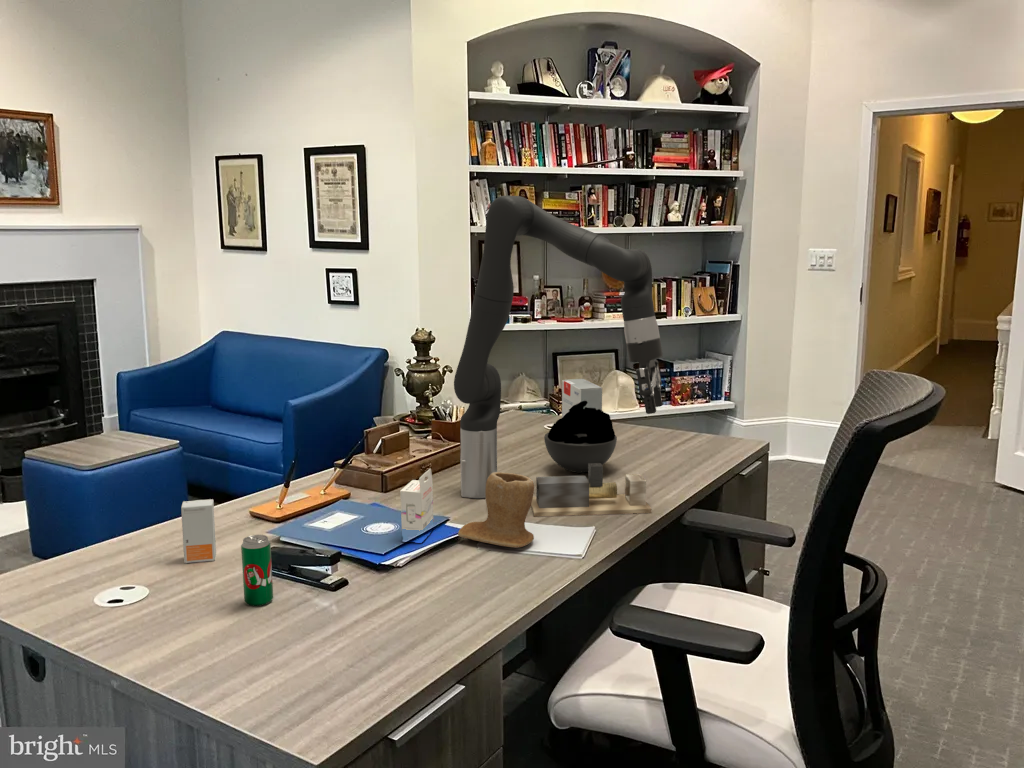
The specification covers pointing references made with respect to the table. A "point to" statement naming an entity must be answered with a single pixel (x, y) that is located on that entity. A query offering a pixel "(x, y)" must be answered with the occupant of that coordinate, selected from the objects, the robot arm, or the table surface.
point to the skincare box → (198, 531)
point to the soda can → (257, 570)
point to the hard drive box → (580, 394)
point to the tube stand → (586, 497)
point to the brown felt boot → (504, 512)
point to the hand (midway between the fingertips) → (654, 409)
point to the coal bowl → (581, 438)
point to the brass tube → (599, 483)
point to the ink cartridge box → (417, 503)
